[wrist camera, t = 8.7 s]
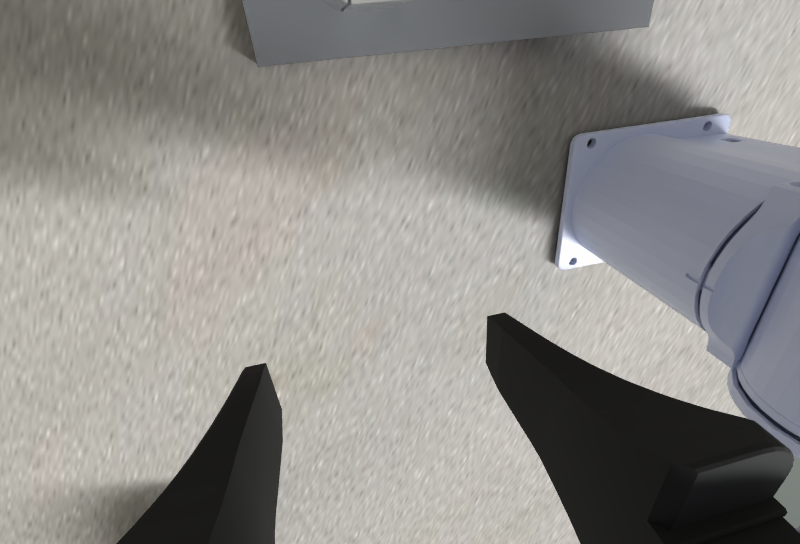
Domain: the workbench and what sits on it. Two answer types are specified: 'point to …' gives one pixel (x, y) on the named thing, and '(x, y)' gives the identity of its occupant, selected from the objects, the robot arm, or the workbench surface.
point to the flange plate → (423, 25)
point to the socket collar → (362, 4)
